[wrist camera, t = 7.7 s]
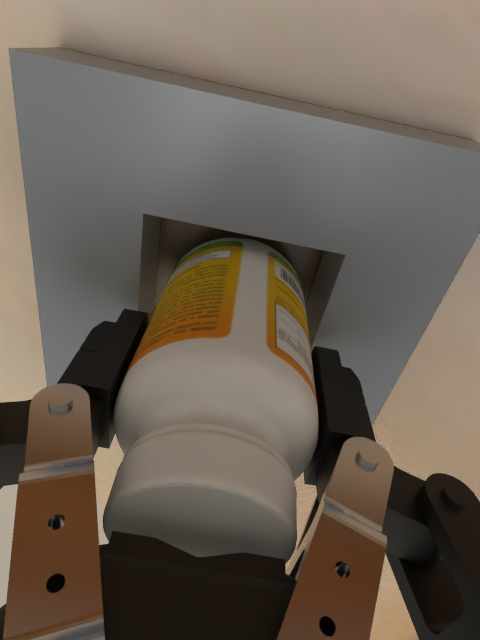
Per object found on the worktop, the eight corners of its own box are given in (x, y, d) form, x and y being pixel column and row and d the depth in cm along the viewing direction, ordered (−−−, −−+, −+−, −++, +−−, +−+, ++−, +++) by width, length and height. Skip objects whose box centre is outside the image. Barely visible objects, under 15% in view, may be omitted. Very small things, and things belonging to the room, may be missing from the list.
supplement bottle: (156, 328, 17) (55, 570, 9) (186, 212, 14) (77, 421, 6) (274, 364, 18) (274, 619, 10) (326, 260, 15) (386, 504, 7)
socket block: (474, 140, 14) (519, 161, 11) (340, 417, 22) (349, 466, 19) (58, 47, 13) (8, 48, 11) (76, 369, 21) (50, 413, 18)
